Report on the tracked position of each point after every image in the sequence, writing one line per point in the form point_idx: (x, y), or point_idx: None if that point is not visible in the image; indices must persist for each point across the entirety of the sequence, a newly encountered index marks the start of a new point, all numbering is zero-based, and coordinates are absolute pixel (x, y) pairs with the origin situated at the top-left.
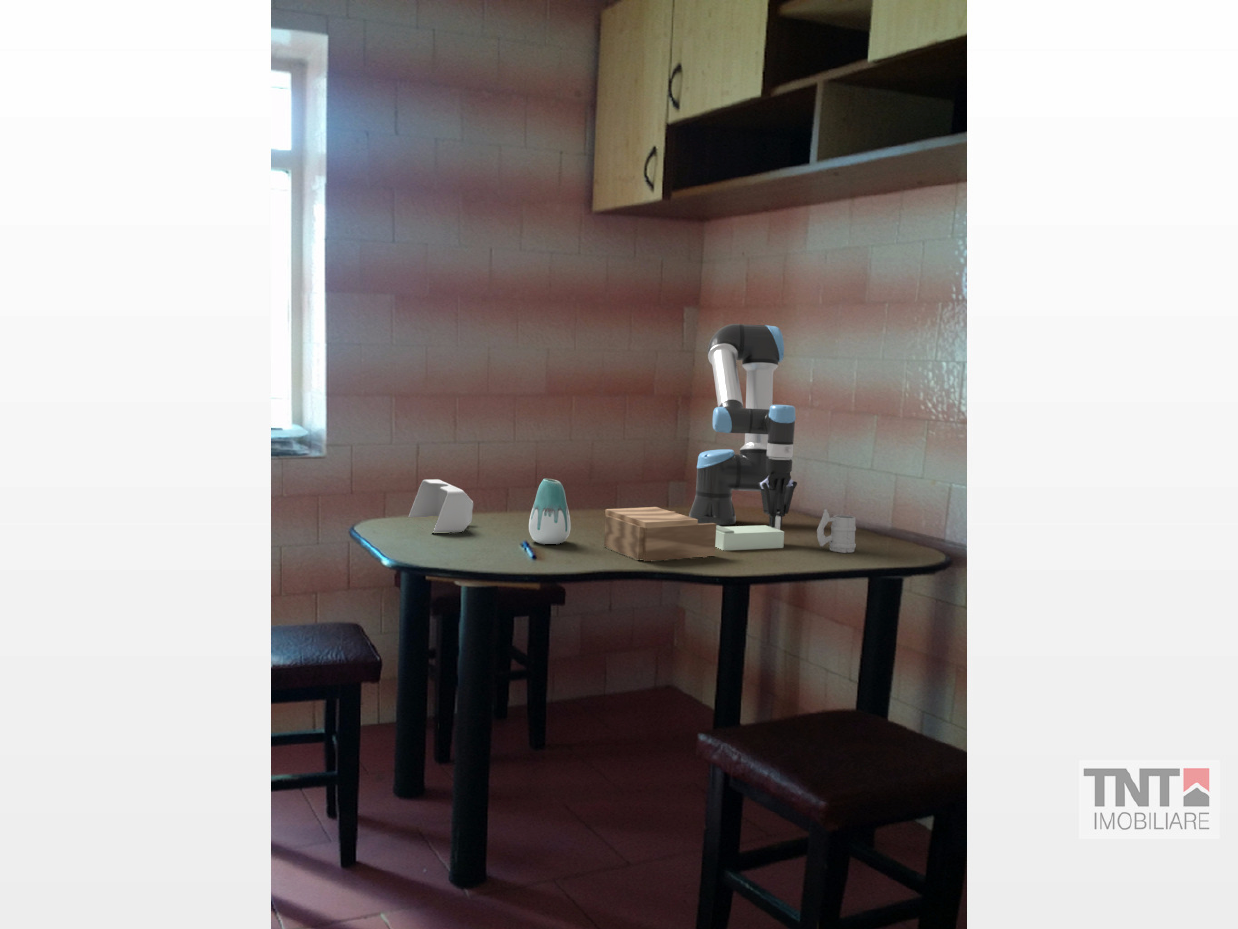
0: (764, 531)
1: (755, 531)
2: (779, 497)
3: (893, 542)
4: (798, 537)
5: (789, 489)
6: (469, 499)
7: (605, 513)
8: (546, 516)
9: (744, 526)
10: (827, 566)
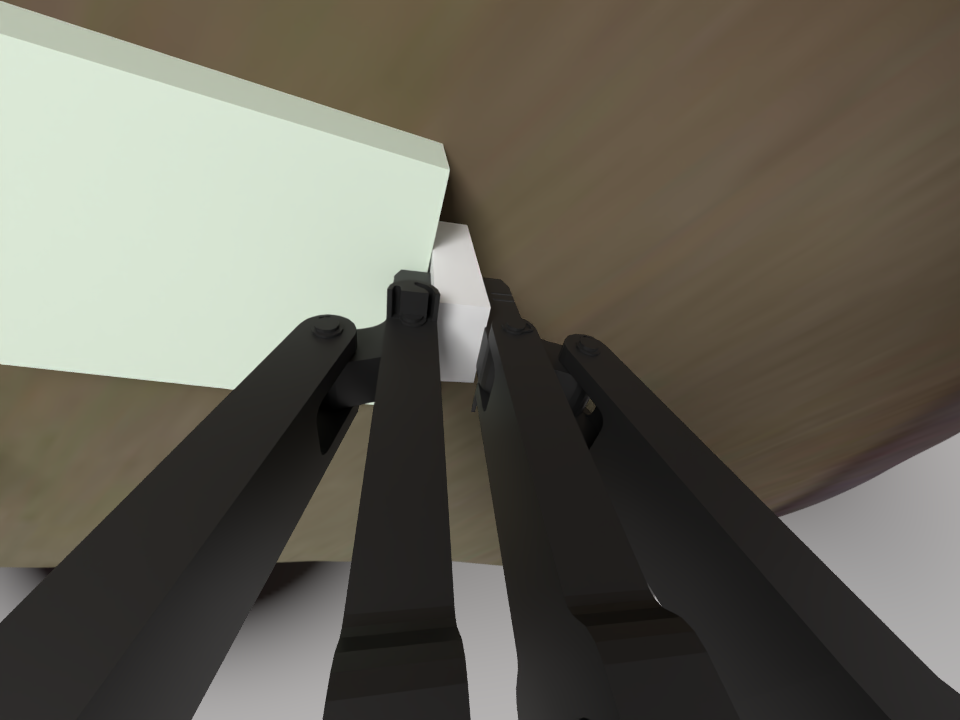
0: (244, 370)
1: (157, 349)
2: (513, 555)
3: (868, 416)
4: (760, 167)
5: (761, 711)
6: None
7: None
8: None
9: (131, 105)
10: (335, 547)
